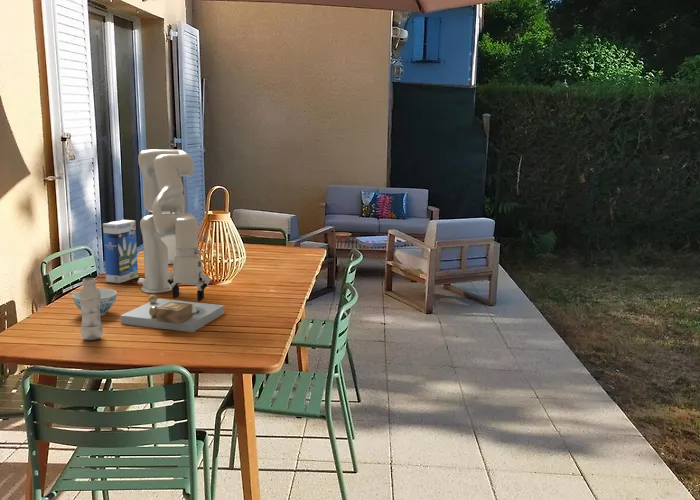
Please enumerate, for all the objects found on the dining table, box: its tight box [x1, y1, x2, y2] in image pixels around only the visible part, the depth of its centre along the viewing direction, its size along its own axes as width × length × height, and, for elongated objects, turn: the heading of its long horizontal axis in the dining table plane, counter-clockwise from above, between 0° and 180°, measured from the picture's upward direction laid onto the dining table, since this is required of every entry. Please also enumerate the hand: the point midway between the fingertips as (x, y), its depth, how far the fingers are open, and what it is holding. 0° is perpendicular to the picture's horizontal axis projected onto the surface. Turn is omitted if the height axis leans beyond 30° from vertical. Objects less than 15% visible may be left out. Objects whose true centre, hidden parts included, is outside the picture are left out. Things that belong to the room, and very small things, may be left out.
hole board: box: [120, 297, 225, 333], centre depth 231 cm, size 28×23×3 cm
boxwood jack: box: [147, 294, 158, 303], centre depth 238 cm, size 3×3×3 cm
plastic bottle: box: [79, 277, 104, 341], centre depth 206 cm, size 6×7×20 cm
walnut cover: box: [156, 302, 192, 324], centre depth 219 cm, size 9×9×5 cm
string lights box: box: [102, 219, 139, 284], centre depth 282 cm, size 13×8×26 cm, turn 161°
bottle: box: [151, 211, 176, 265], centre depth 317 cm, size 14×14×28 cm
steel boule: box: [188, 303, 197, 315], centre depth 229 cm, size 6×6×6 cm
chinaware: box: [71, 288, 118, 317], centre depth 233 cm, size 15×15×8 cm
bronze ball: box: [149, 306, 158, 317], centre depth 222 cm, size 4×4×4 cm
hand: (188, 299), depth 228 cm, fingers open, 9 cm apart
